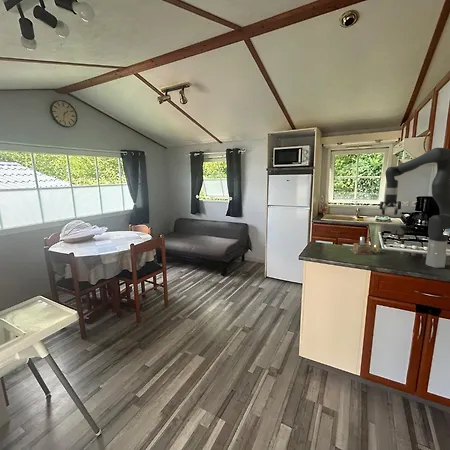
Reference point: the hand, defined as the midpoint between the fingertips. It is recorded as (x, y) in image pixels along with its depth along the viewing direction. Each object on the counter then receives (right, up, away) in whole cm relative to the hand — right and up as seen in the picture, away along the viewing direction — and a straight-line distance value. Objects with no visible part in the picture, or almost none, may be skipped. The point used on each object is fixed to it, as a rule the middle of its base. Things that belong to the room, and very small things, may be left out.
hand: (389, 214), depth 194 cm
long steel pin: (-21, -29, +1) cm, 36 cm away
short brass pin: (-11, -29, 0) cm, 31 cm away
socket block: (-21, -29, +1) cm, 36 cm away
